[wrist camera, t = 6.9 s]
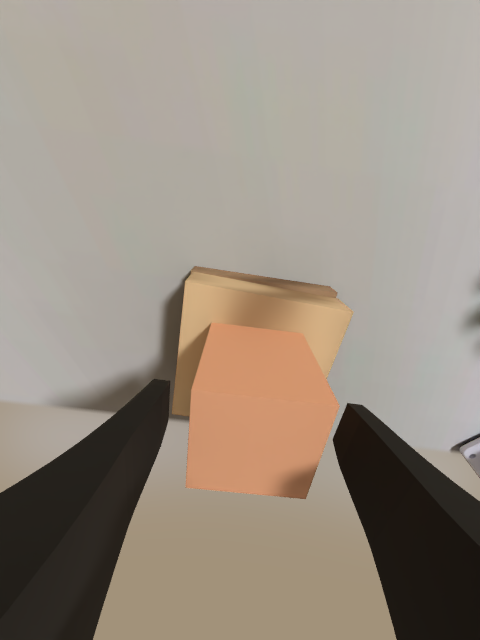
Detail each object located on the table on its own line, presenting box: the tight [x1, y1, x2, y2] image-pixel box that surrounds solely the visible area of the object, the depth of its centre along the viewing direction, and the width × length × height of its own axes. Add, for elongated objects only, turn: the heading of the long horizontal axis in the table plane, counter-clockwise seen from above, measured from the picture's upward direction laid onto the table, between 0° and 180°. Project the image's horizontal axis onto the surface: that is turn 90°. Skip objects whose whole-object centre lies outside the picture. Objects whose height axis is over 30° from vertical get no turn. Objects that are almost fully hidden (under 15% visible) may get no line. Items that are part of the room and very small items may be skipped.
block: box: [186, 323, 340, 499], centre depth 10 cm, size 4×4×5 cm
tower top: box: [172, 272, 353, 416], centre depth 14 cm, size 8×8×2 cm
